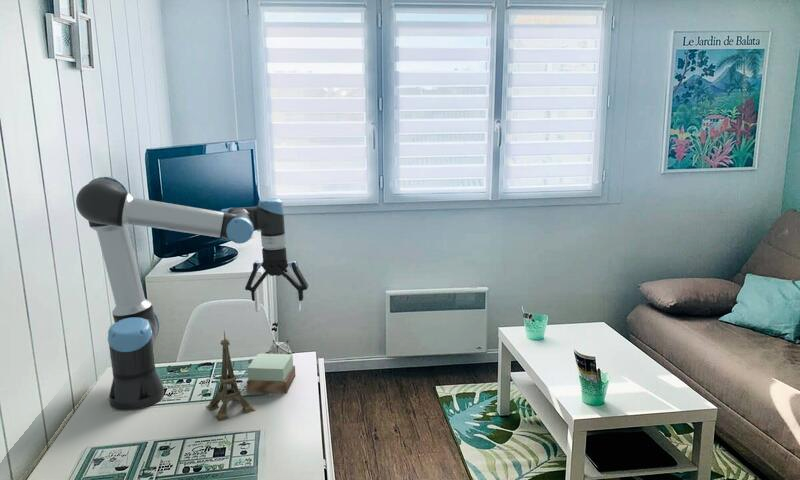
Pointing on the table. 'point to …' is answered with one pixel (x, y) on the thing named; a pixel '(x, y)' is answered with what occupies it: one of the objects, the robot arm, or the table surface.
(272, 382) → the base block
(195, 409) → the table surface
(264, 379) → the top block
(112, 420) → the table surface
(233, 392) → the eiffel tower
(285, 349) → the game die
